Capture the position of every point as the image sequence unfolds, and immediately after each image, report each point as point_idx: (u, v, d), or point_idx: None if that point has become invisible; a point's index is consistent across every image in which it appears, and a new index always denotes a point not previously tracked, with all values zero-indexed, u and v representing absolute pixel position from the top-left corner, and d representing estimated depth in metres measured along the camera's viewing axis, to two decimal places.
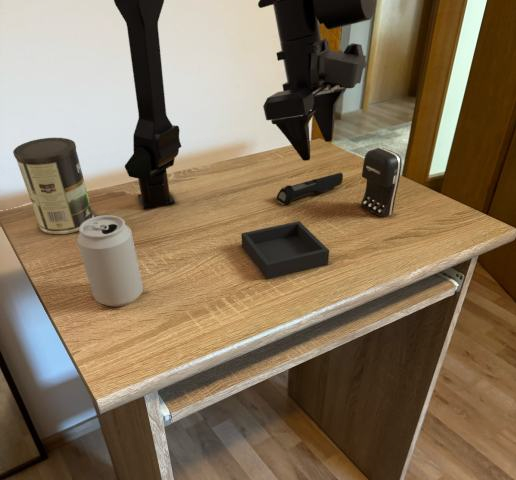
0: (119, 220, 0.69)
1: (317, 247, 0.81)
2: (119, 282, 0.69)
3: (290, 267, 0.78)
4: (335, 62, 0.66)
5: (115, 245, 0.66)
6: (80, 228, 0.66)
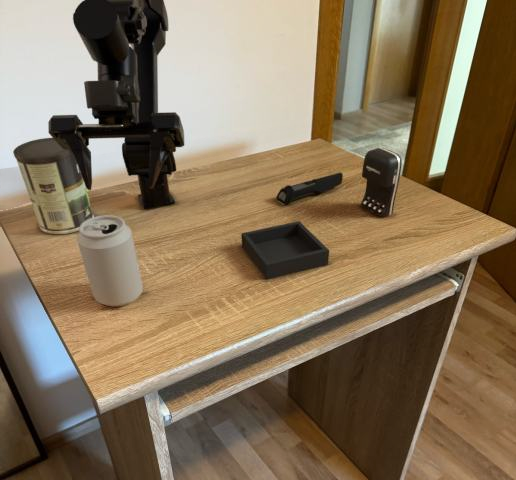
0: (119, 220, 0.69)
1: (317, 247, 0.81)
2: (119, 282, 0.69)
3: (290, 267, 0.78)
4: None
5: (115, 245, 0.66)
6: (80, 228, 0.66)
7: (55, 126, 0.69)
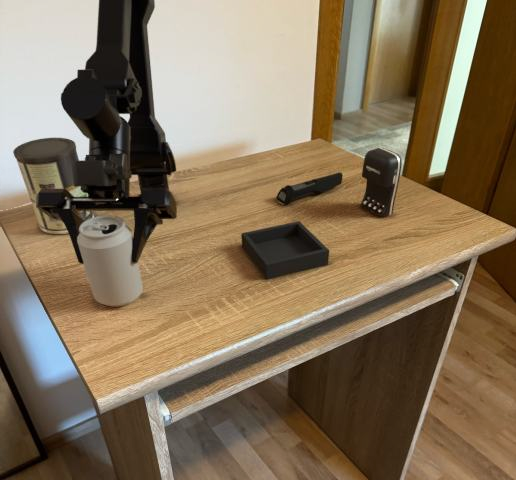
0: (119, 220, 0.68)
1: (317, 247, 0.81)
2: (119, 282, 0.69)
3: (290, 267, 0.78)
4: None
5: (115, 245, 0.66)
6: (80, 228, 0.66)
7: (43, 201, 0.67)
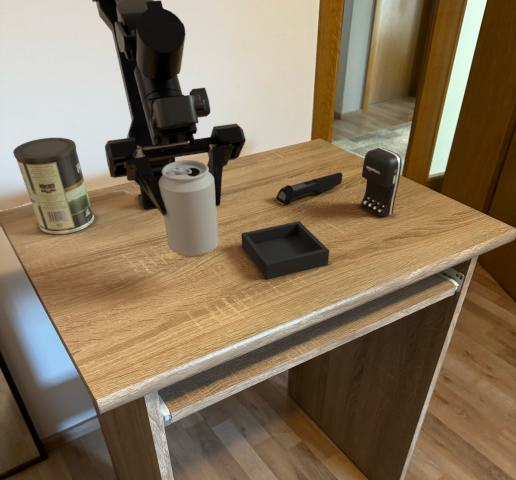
0: (195, 163, 0.66)
1: (317, 247, 0.81)
2: (208, 227, 0.67)
3: (290, 267, 0.78)
4: (154, 106, 0.61)
5: (208, 185, 0.64)
6: (166, 174, 0.63)
7: (116, 152, 0.62)
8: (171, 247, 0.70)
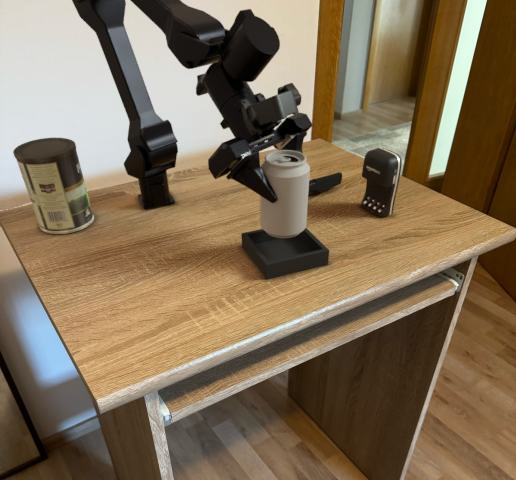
0: (284, 152, 0.74)
1: (317, 247, 0.81)
2: (307, 205, 0.76)
3: (290, 267, 0.78)
4: (259, 104, 0.67)
5: (309, 167, 0.73)
6: (278, 164, 0.70)
7: (236, 151, 0.67)
8: (275, 232, 0.76)
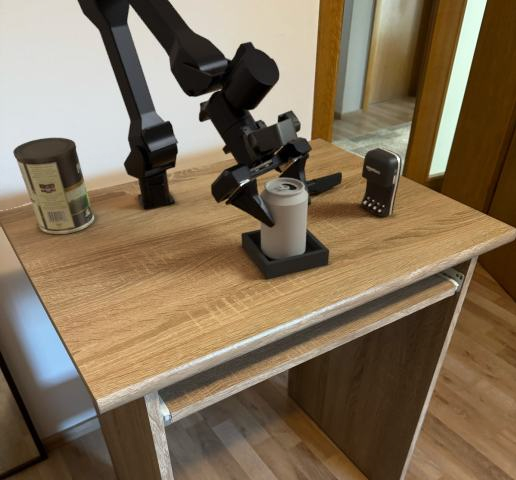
0: (282, 180, 0.77)
1: (317, 247, 0.81)
2: None
3: (290, 267, 0.78)
4: (260, 132, 0.70)
5: (307, 195, 0.76)
6: (277, 193, 0.73)
7: (238, 177, 0.69)
8: (275, 256, 0.79)
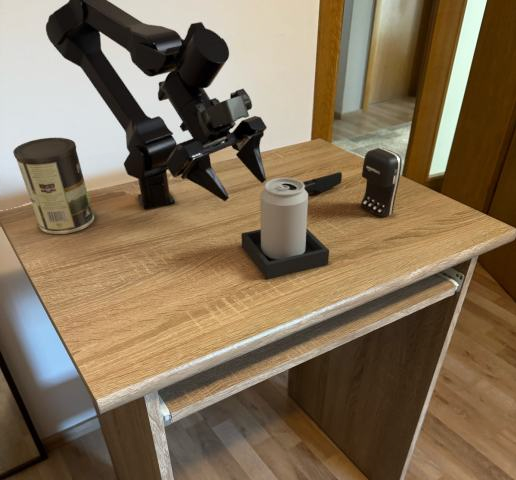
0: (282, 180, 0.77)
1: (317, 247, 0.81)
2: None
3: (290, 267, 0.78)
4: (211, 108, 0.73)
5: (307, 195, 0.76)
6: (277, 193, 0.73)
7: (191, 151, 0.73)
8: (275, 256, 0.79)
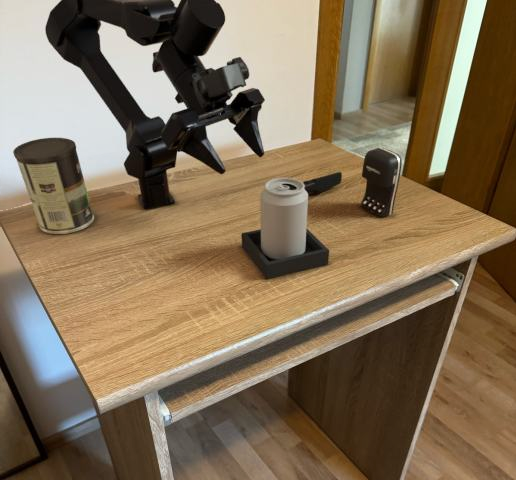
0: (282, 180, 0.77)
1: (317, 247, 0.81)
2: None
3: (290, 267, 0.78)
4: (207, 76, 0.71)
5: (307, 195, 0.76)
6: (277, 193, 0.73)
7: (186, 121, 0.70)
8: (275, 256, 0.79)
